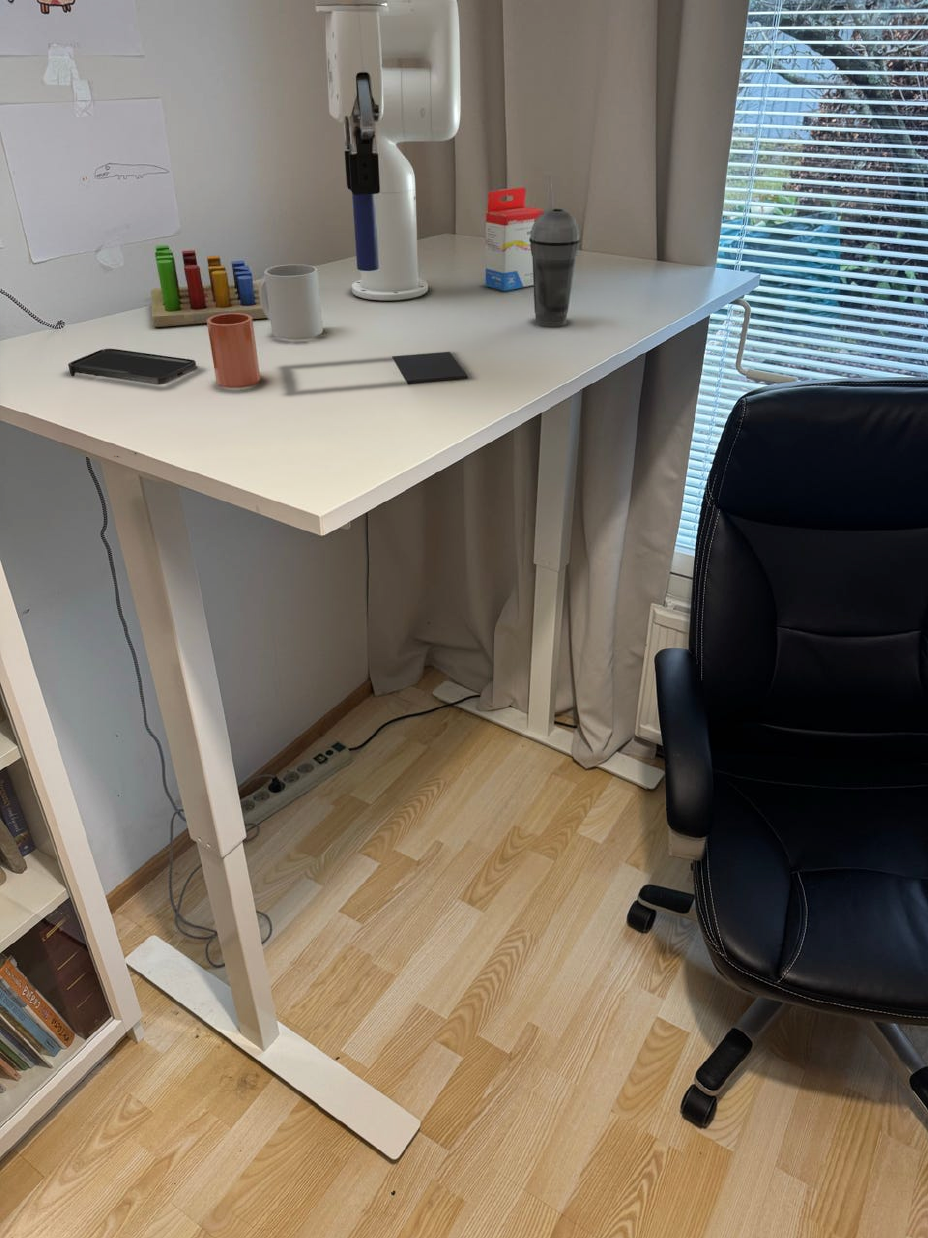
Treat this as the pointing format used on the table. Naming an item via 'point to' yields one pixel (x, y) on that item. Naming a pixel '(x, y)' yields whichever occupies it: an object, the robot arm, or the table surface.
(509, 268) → the ink box
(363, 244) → the marker
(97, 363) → the phone
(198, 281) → the peg board
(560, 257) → the beverage cup
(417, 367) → the desk mat
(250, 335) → the tumbler
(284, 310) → the cup
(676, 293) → the table surface
